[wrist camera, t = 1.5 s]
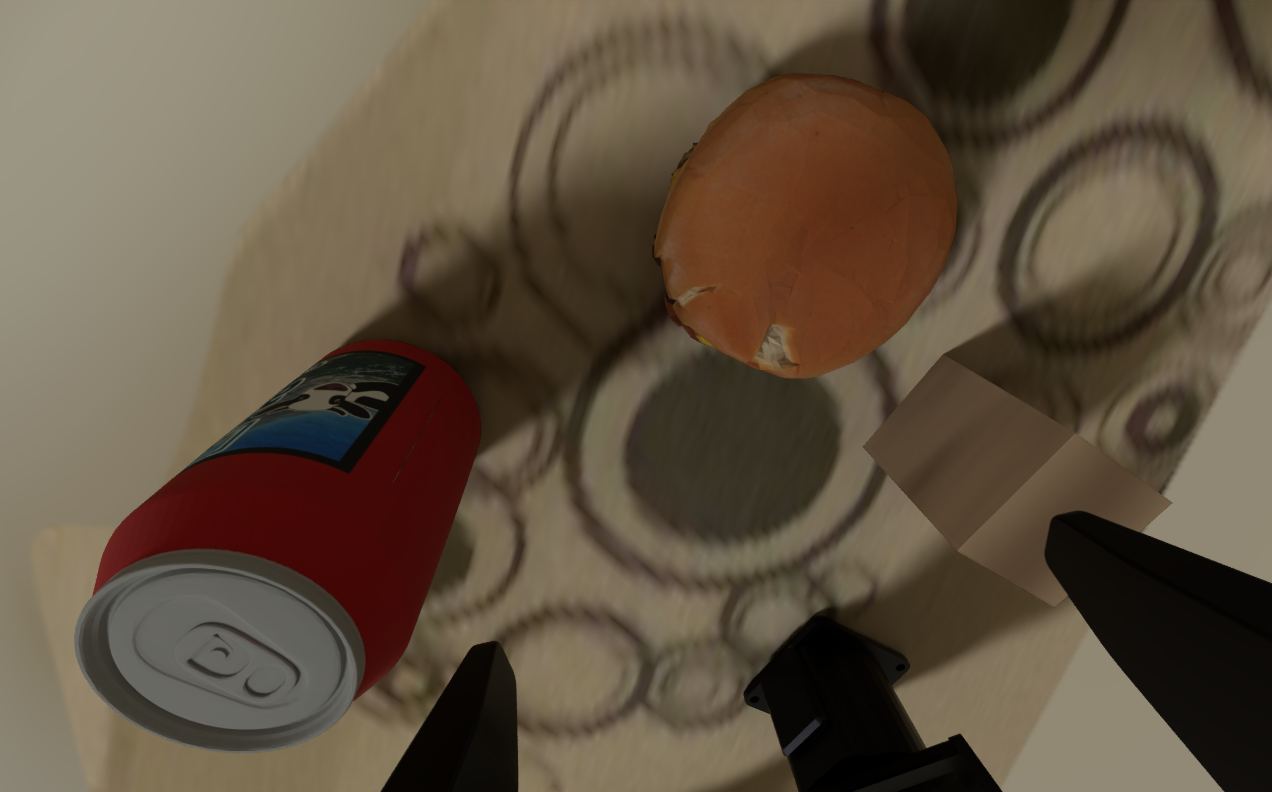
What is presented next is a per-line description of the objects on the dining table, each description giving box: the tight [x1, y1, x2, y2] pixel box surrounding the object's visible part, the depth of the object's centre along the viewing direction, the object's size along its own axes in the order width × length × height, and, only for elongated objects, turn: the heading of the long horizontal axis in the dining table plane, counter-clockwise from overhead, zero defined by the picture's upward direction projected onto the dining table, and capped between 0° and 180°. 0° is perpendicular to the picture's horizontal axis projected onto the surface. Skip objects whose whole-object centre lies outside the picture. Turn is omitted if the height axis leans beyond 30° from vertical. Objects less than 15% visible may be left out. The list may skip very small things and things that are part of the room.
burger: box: [652, 73, 957, 378], centre depth 19 cm, size 10×9×5 cm
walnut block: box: [863, 354, 1172, 607], centre depth 22 cm, size 5×5×7 cm
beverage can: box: [74, 340, 481, 753], centre depth 17 cm, size 7×7×12 cm
